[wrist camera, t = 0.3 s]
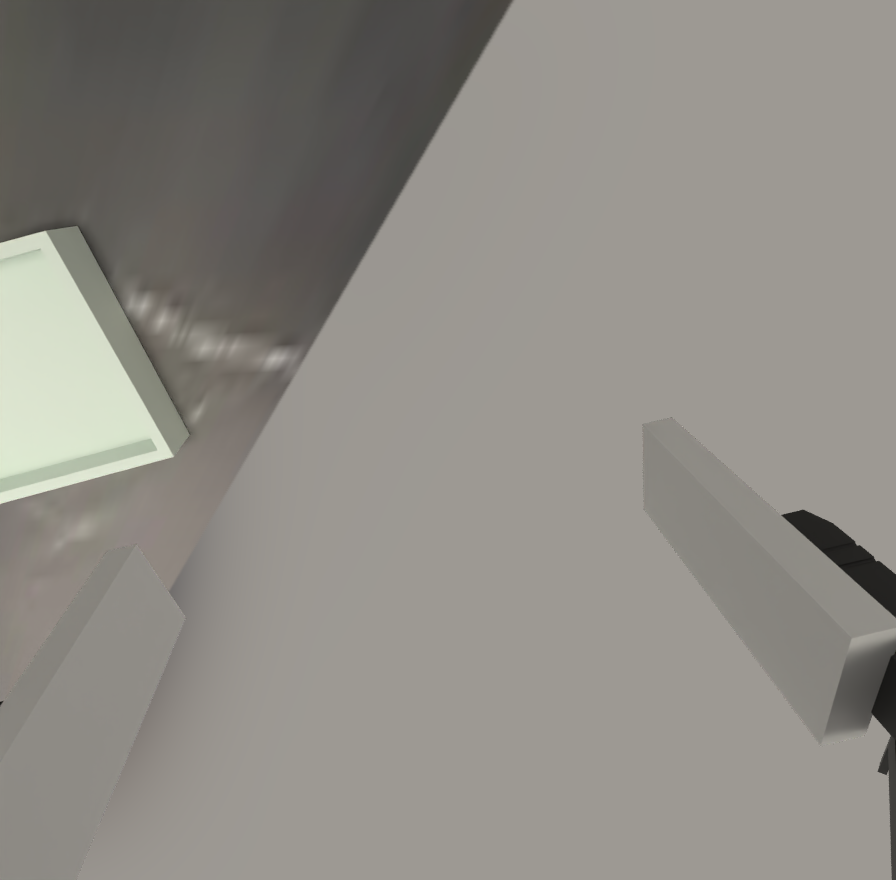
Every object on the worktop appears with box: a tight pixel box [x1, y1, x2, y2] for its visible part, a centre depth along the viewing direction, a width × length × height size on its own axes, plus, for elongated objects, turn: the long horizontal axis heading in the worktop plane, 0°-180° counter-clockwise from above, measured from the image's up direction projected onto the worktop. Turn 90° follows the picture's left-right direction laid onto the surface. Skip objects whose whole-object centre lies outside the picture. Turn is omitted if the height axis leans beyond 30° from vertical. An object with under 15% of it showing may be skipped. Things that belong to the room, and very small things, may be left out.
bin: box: [0, 226, 190, 504], centre depth 35 cm, size 16×16×4 cm
